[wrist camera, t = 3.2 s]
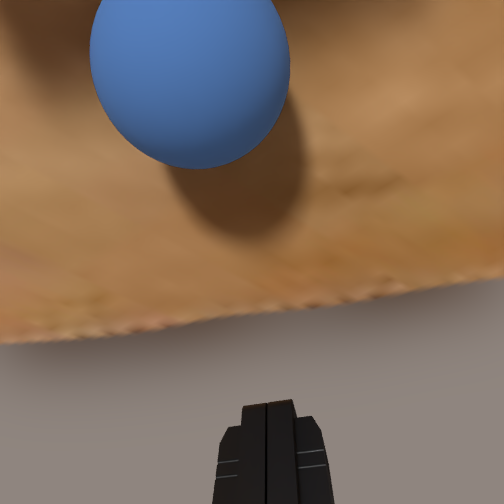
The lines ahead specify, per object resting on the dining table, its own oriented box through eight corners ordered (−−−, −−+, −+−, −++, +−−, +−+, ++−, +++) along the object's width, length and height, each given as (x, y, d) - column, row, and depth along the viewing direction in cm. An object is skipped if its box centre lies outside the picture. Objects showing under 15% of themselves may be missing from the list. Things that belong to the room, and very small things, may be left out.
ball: (157, 162, 16) (107, 213, 11) (102, -2, 14) (1, -38, 8) (297, 129, 16) (316, 167, 10) (266, -50, 13) (270, -123, 8)
